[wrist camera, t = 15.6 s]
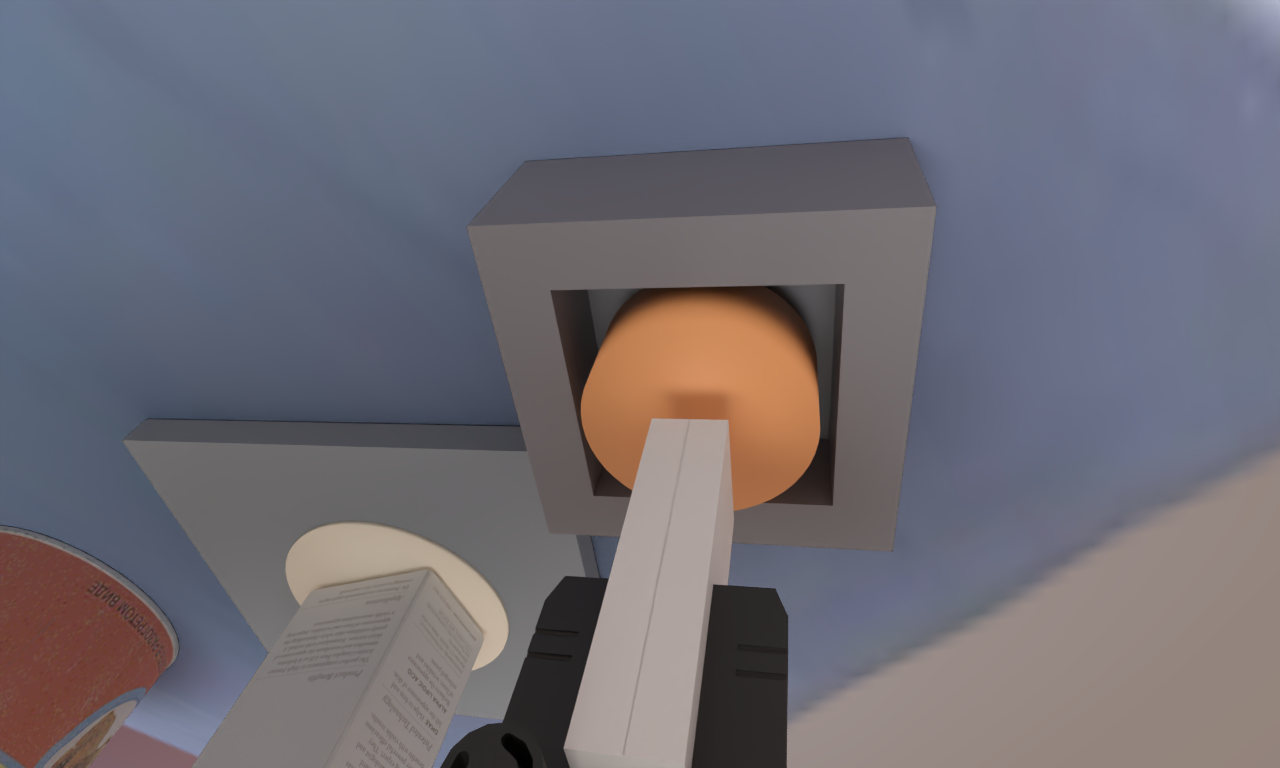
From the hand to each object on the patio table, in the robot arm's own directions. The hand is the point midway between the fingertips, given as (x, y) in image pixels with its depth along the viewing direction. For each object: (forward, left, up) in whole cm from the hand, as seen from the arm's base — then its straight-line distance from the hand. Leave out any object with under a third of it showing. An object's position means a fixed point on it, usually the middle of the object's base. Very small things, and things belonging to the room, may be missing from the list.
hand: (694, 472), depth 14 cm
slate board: (-13, -12, -6) cm, 19 cm away
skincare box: (-13, -12, -5) cm, 18 cm away
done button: (0, 0, -4) cm, 4 cm away
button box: (0, 0, -6) cm, 6 cm away
